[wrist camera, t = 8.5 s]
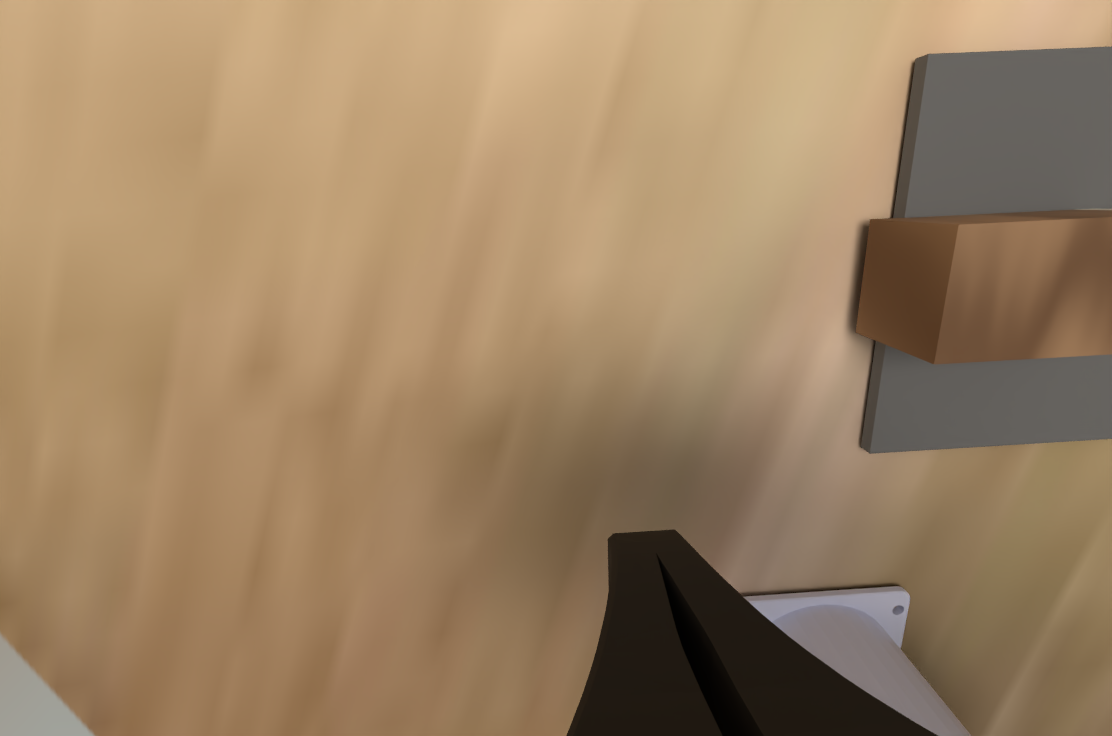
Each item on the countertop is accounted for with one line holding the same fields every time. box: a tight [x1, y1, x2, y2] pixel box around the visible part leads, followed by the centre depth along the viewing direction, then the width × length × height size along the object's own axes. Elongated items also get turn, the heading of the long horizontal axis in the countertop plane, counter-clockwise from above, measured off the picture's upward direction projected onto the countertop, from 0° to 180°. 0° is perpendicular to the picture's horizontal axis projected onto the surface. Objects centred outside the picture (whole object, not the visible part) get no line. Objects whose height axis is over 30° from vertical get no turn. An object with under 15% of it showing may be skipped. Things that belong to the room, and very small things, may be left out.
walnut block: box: [856, 208, 1112, 364], centre depth 17 cm, size 4×4×8 cm
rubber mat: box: [861, 47, 1112, 454], centre depth 20 cm, size 14×16×1 cm
